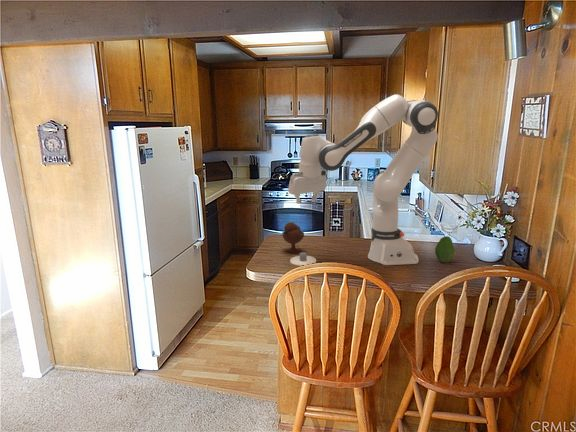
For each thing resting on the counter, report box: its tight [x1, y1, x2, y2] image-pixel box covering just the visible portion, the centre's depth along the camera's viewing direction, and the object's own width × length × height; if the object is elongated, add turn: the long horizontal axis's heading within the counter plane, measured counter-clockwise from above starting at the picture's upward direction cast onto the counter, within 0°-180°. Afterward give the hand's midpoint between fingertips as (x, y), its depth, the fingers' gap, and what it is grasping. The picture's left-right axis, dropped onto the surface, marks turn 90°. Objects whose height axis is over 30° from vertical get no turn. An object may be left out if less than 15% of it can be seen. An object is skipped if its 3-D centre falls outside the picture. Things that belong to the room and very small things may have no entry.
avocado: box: [434, 235, 455, 264], centre depth 164 cm, size 8×8×12 cm
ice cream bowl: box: [281, 221, 305, 254], centre depth 181 cm, size 11×11×15 cm
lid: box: [289, 251, 317, 267], centre depth 170 cm, size 12×12×4 cm
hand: (306, 201), depth 166 cm, fingers open, 8 cm apart
